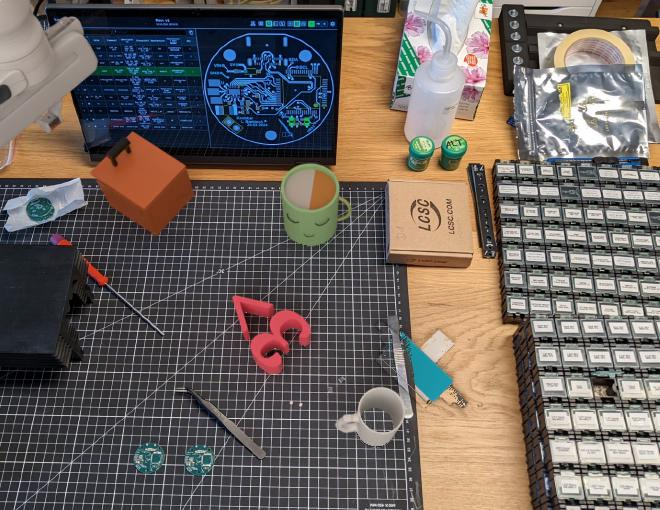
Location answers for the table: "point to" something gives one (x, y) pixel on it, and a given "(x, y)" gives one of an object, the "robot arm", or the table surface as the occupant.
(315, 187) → the mug
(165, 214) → the parts case
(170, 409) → the table surface
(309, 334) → the red number figure
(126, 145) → the case lid
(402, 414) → the mug
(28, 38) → the robot arm
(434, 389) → the phone stand
